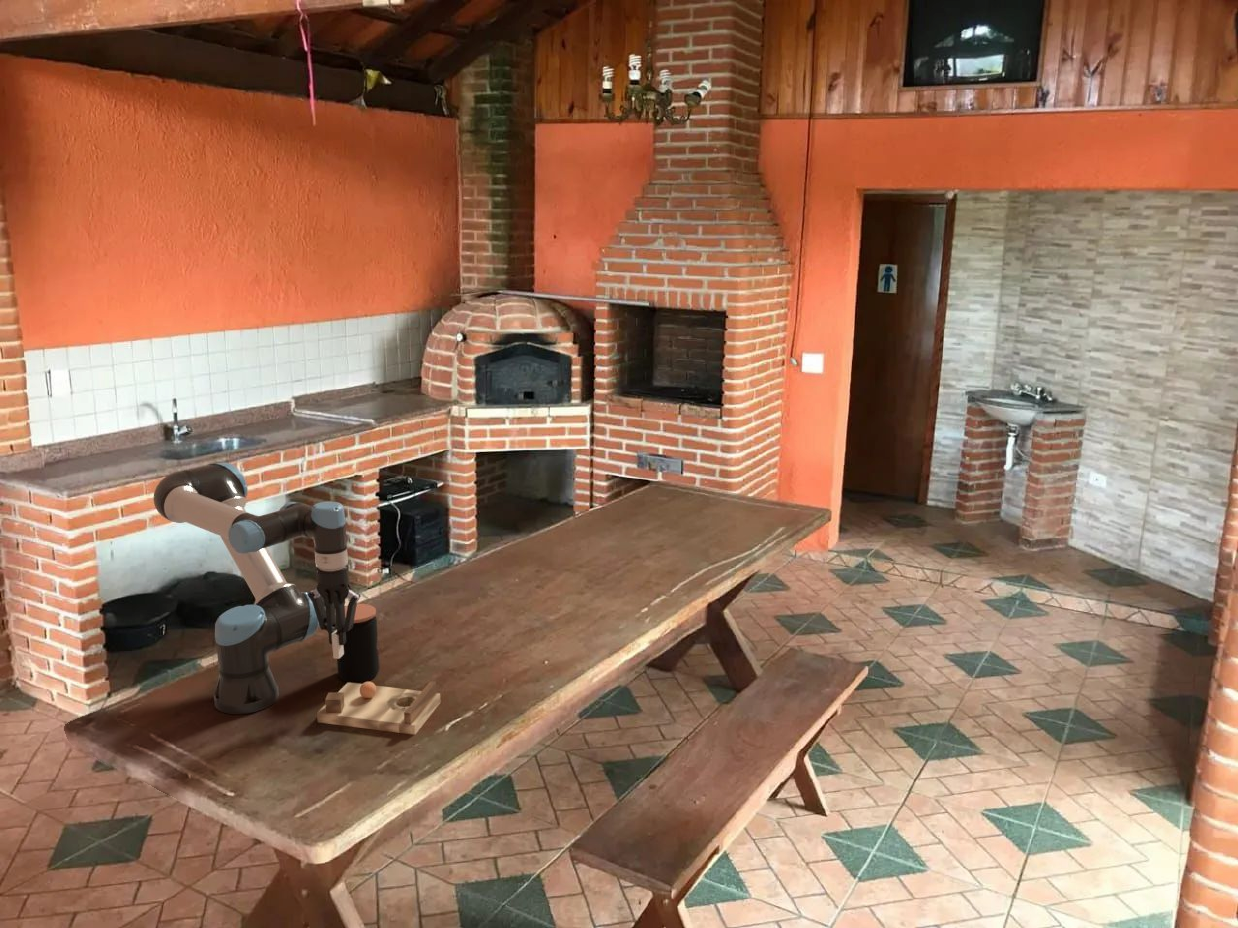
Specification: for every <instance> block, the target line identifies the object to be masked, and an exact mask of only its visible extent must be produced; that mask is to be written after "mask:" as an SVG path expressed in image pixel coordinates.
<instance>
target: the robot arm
mask: <svg viewBox="0 0 1238 928" xmlns="http://www.w3.org/2000/svg"><path fill="white" fill-rule="evenodd" d="M248 490H249V489H248V486H247V480H246V478H245V476H244V474H243V473H242V471H241V470H240V469H239V468H238V467H237V466H235V465H234V464H232V463H230V462H226V461H224V462H223V461H222V462H217V463H216V462H214V463H213V462H212V463H209V464H207V465H203V466H199V467H194V468H190V469H185V470H181V471H180V470H179V471H175V472H172V473H170V474H168V475H166V476H165V477H164V478H162V479H161V480H160V481H159V482H158V484H157V486H156V487H155V489H154V491H153V504H154V507H155V509H156V511H157V512H158V514H159V515H160V516H162V517H163V518H164V519H167V520H168V521H170V522H173V523H177V524H184V523H187V524H189V525H192V526H194V527H196V528H199V529H201V530H205V531H207V532H209V533H212V534H215V535H216V536H217V535H218V536H220V538H221V540H222V542H223V544H224V545H225V547H226V549H227V550H228V553H229V554H230V556H231V557H232V559H233V561H234V563H235V565H236V566H237V568H238V570H239V572H240V573H241V576H242V577H243V579H244V581H245V582H246V584H247V586H248V587H249V589H250V591H251V593H252V595H253V596H254V598H255V602H254V604H245V605H243V606H242V605H239V606H238V605H237V606H235V607H232V608H230V609H228V610H226V611H224V612H222V613H221V615H219V617H218V618H217V619H216V621H215V624H214V625H215V626H214V641H215V645H216V653H217V654H216V655H217V664H218V665H217V666H218V673H219V674H218V679H217V683H216V686H215V691H214V694H213V700H214V707H215V709H216V710H217V711H219V712H220V713H224V714H229V715H245V714H252V713H255V712H259V711H262V710H264V709H267V708H269V707H270V706H272V705H273V704H275V703H276V701H277V700H278V698H279V696H280V693H279V687H278V683H277V682H276V681H275V680H276V679H275V678H274V675H273V673H272V671H271V668H270V666H269V655H270V654H272V653H275V652H277V651H280V650H282V649H284V648H287V647H289V646H292V645H294V644H295V645H296V644H297V643H301V642H303V641H305V640H306V639H308V638H310V637H313V636H314V635H315V634H316V633H317V631H318V629H319V628H320V630H321V631H326V632H327V633H328V643H329V644H330V645H332V655H333V656H332V658H333V659H336V660H337V659H339V658H340V657H342V656H343V655H344V646H343V645H344V644H345V643H346V632H348V631H349V630H350V629H351V628H352V627H353V623H354V617H355V612H356V606H357V604H358V602H359V600H360V598H361V594H360V593H359V592H357V593H356V592H354V591H353V590H352V587H351V585H350V573H349V566H348V564H349V555H348V545H347V544H348V542H347V539H348V538H347V525H346V524H347V523H346V522H347V520H346V517H345V516H346V514H345V507H344V506H343V504H342V503H340V502H337V501H330V500H329V501H321V502H317V503H315V504H313V506H312V505H309V504H306V503H304V502H297V501H289V502H286V503H284V504H283V505H282V506H281V507H280V509H279V510H277V511H273V512H270V513H266V514H262V515H257V514H254V513H250V512H248V511H246V508H245V507H246V504H247V499H246V498H247V496H248ZM301 537H304V538H307V539H310V540H313V544H314V545H313V547H314V549H313V550H314V558H315V559H314V561H315V567H316V569H315V574H316V583H317V585H316V588H314V589H313V590H311V591H310V592H306V591H301V592H300V590H299V589H298V587H297V585H296V584H295V583H290V582H287V580H286V579H285V576H284V575H283V573H282V572H281V570H280V568H279V566H278V565H277V563H276V561H275V559H274V558H273V556H272V554H271V552H270V550H269V549H268V548H269V547H272V546H275V545H279V544H282V543H286V542H290V541H291V540H295V539H299V538H301ZM347 597H348V599H347ZM346 599H347V601H348V604H347V605H348V608H347V613H346V618H345V606H346V605H345V604H346ZM335 611H336V614H335ZM336 624H337V626H336ZM336 628H337V630H336Z"/></svg>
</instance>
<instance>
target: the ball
mask: <svg viewBox="0 0 1238 928" xmlns="http://www.w3.org/2000/svg"><path fill="white" fill-rule="evenodd" d="M361 684H362V685H361V687H360V694H361V696H363V697H364V698H371V697H373V696H374V695H375V693H376V686H377V685H376V684H375V683H374V682H372V681H366V682H362V683H361Z"/></svg>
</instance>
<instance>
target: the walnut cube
mask: <svg viewBox="0 0 1238 928" xmlns="http://www.w3.org/2000/svg"><path fill="white" fill-rule="evenodd" d="M324 700H325V701H324V702H325V704H324V705H326V713H342V710H343V708H344V692H339V691H338V692H328V693H327V695H326V697H325V699H324Z"/></svg>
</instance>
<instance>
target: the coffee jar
mask: <svg viewBox="0 0 1238 928" xmlns="http://www.w3.org/2000/svg"><path fill="white" fill-rule="evenodd" d="M347 608H348V604H347V605H345V618H346V613H347ZM335 614H336V611H335ZM376 614H377V609H376V608H375V607H374V606H373V605H371V604H366V603H357V606H356V612H355V617H354V623H353V627H352V628H351V629H350V630H349V631H348V632H346V643H345V644H344V645H343V646H344V655H343V656H342V657H340V658H339V659H336V664H337V665H336V666H337V674H338V677H340V679H341V680H342V681H344V682H346V683H348V682H349V683H357V684H362V683H365V682H370V681H371V680H373V679H375V677H376V676H377V675H378V673H379V671H380V656H379V653H380V652H379V637H378V620H377V616H376ZM336 626H337V624H336ZM336 630H337V628H336Z"/></svg>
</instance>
